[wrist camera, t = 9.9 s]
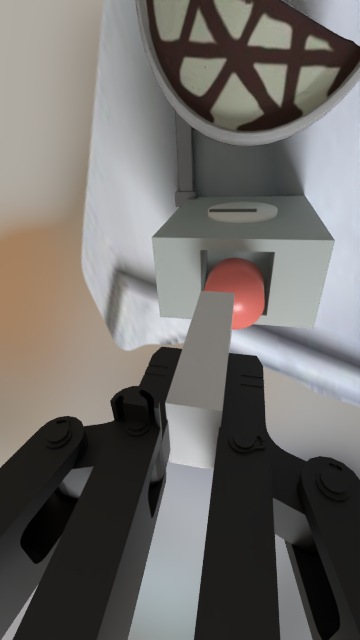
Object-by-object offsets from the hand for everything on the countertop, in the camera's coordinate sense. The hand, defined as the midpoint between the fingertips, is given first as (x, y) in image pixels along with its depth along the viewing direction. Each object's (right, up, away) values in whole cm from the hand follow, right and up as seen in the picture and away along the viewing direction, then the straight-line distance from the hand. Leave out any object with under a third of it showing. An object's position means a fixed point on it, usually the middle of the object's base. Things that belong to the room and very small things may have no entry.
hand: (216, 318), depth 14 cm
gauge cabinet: (+4, +9, +14) cm, 17 cm away
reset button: (+2, +2, +4) cm, 5 cm away
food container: (+3, +18, +9) cm, 20 cm away
